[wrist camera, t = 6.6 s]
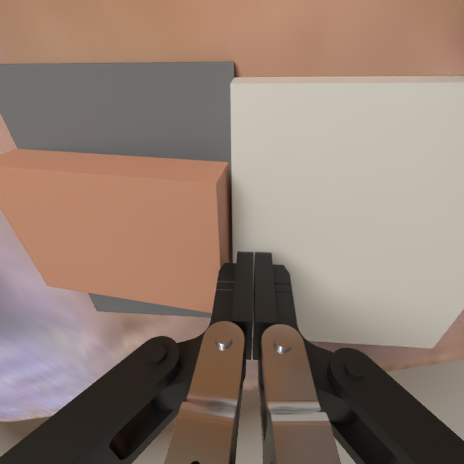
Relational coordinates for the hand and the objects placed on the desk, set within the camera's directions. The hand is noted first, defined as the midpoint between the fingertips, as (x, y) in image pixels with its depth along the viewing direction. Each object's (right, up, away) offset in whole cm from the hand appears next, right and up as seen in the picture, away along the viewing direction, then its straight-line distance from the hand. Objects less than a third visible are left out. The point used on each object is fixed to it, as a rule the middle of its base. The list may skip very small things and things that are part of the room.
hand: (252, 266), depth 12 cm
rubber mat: (-6, +2, +3) cm, 7 cm away
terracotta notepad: (-6, +2, +2) cm, 6 cm away
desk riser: (+5, +2, +2) cm, 6 cm away
